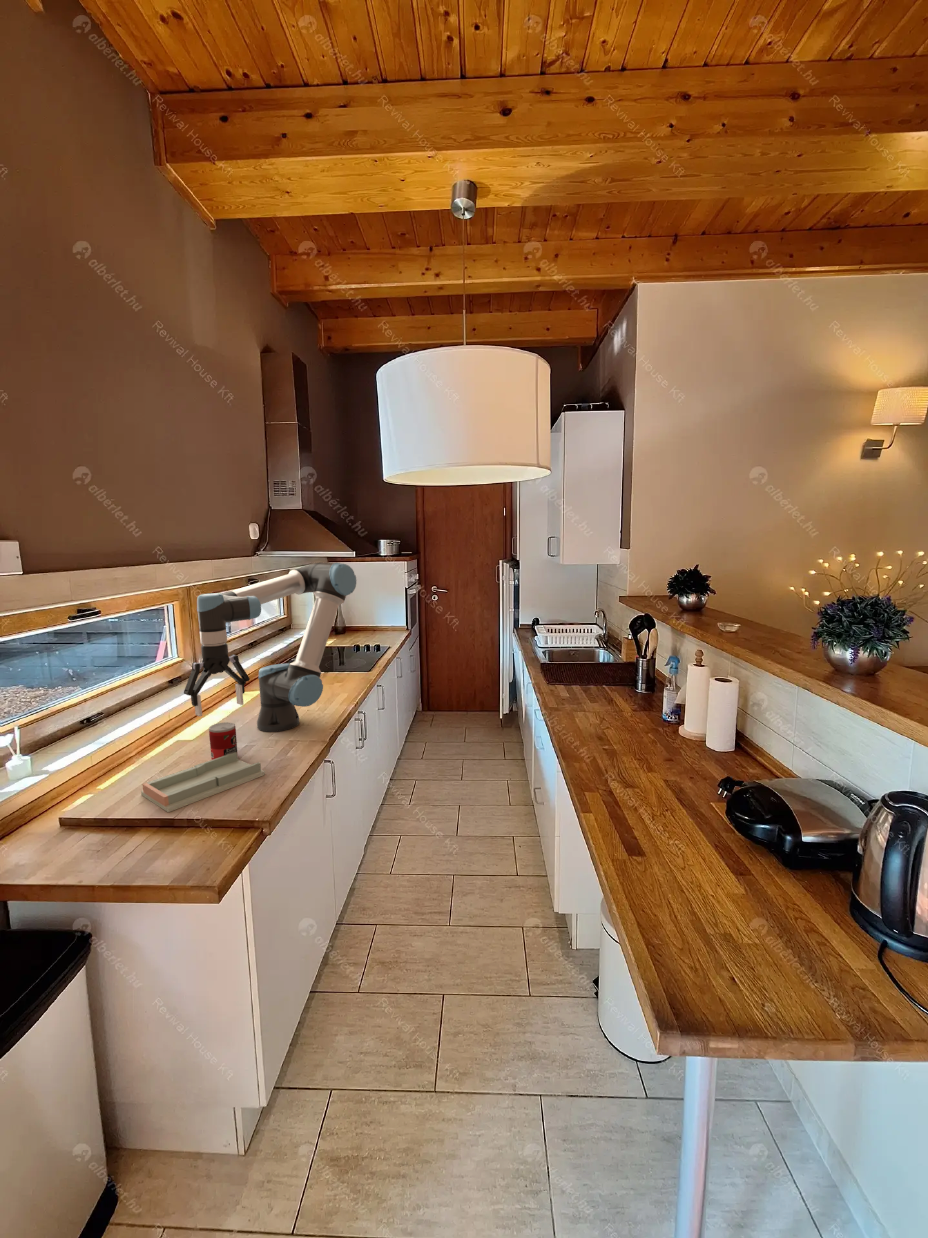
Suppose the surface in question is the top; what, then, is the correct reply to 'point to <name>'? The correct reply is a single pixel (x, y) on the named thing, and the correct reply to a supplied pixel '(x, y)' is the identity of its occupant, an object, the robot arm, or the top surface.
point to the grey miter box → (200, 781)
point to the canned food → (222, 739)
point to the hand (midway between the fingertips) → (220, 709)
